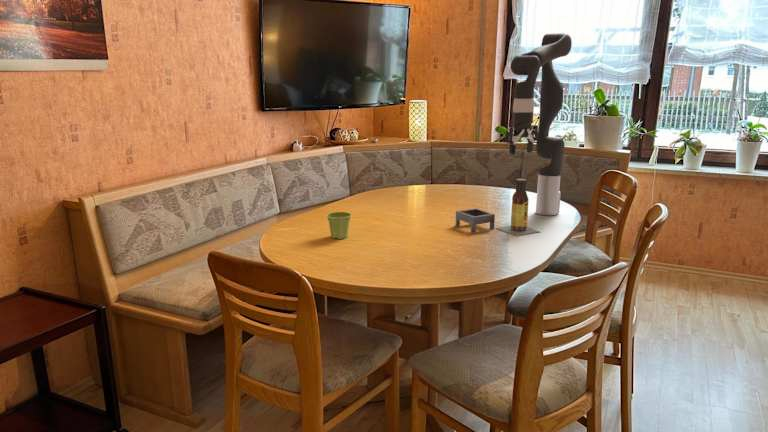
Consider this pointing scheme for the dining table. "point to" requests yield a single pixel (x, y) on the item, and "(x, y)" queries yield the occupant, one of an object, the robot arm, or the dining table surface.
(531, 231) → the slate mat
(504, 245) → the dining table surface
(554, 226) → the dining table surface
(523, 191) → the sauce bottle
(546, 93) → the robot arm
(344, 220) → the plant pot
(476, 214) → the grey square frame stand
